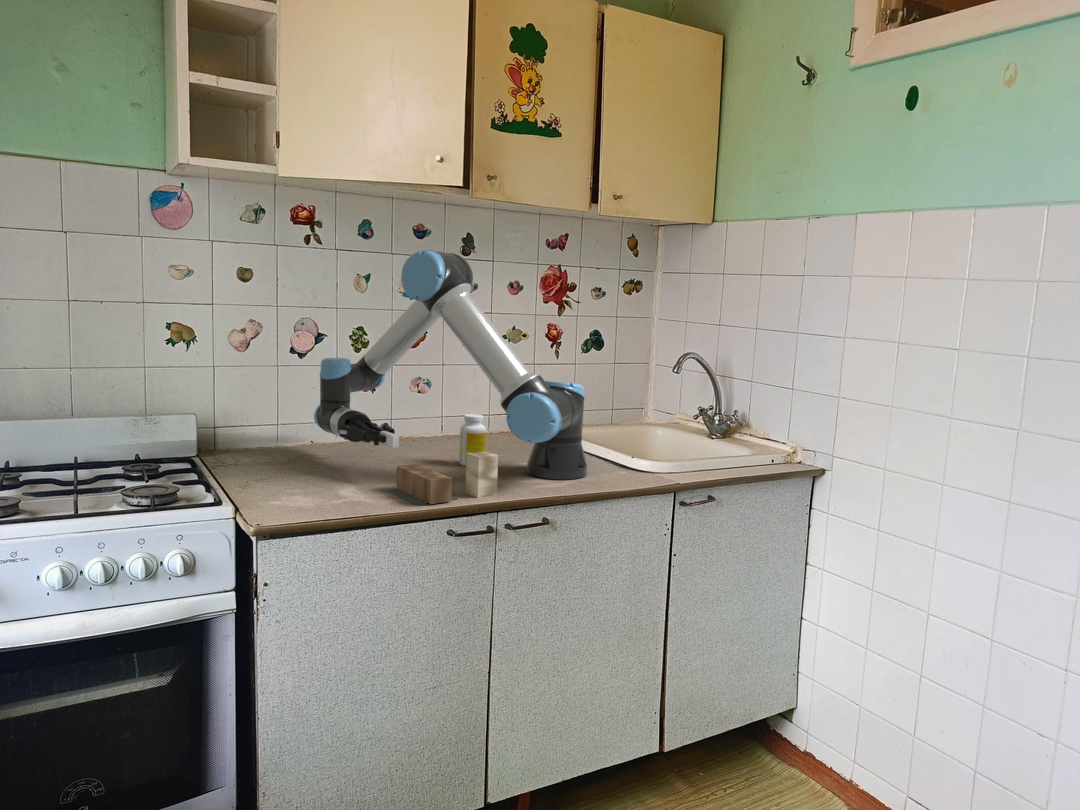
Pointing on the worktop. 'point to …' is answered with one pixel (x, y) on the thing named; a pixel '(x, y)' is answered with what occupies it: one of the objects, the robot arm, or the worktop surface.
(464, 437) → the supplement bottle
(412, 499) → the mat
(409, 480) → the walnut block
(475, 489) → the birch block
